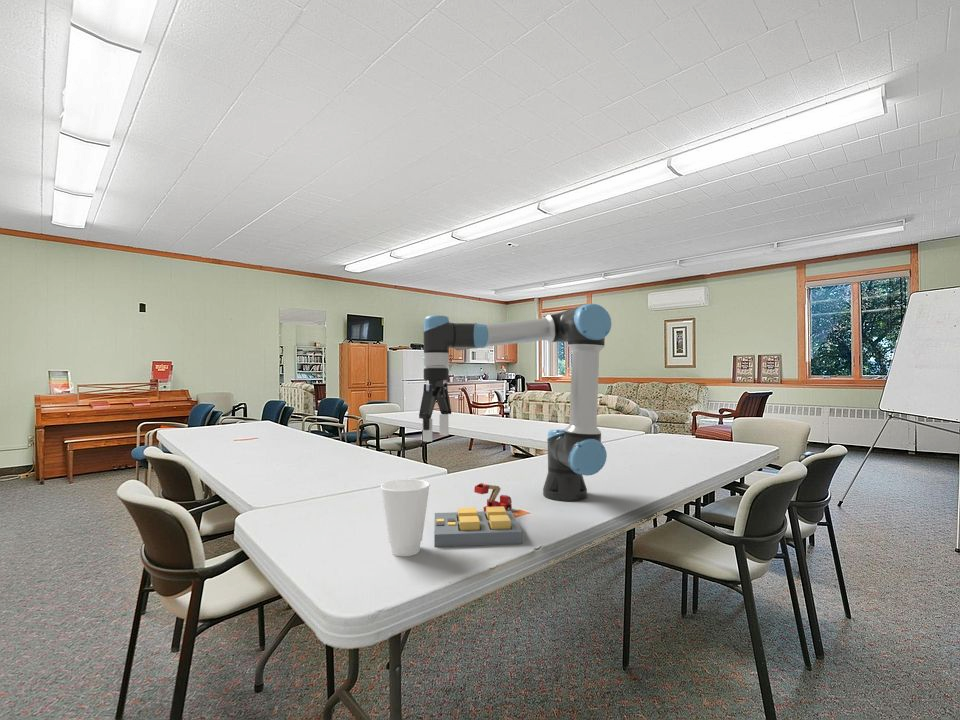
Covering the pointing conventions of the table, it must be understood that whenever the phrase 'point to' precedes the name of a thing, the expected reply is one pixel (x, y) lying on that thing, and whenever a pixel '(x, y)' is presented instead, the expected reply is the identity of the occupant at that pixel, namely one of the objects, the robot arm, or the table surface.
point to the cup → (405, 514)
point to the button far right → (467, 511)
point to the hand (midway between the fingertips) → (436, 438)
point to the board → (473, 531)
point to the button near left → (499, 522)
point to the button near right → (469, 523)
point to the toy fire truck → (494, 496)
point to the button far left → (495, 511)
